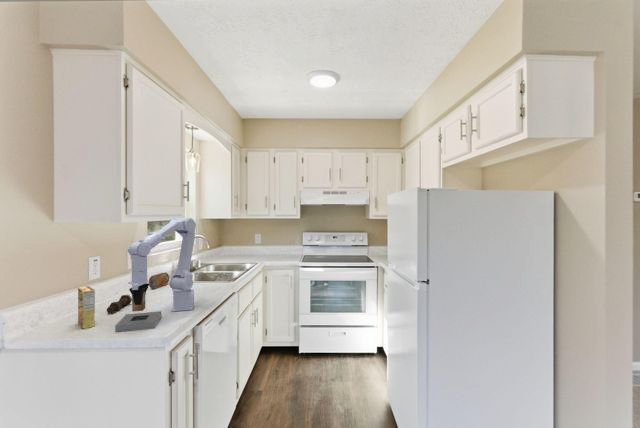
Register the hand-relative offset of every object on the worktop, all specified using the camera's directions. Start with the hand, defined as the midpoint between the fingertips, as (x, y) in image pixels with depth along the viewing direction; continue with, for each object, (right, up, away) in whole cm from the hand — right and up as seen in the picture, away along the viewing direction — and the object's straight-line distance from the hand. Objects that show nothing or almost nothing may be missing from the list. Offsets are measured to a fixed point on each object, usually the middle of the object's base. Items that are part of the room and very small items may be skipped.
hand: (139, 303), depth 132 cm
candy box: (-21, -9, -1) cm, 23 cm away
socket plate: (0, -9, 0) cm, 9 cm away
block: (0, -3, 0) cm, 3 cm away
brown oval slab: (-24, -8, +63) cm, 68 cm away
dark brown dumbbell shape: (-22, -9, +20) cm, 31 cm away
